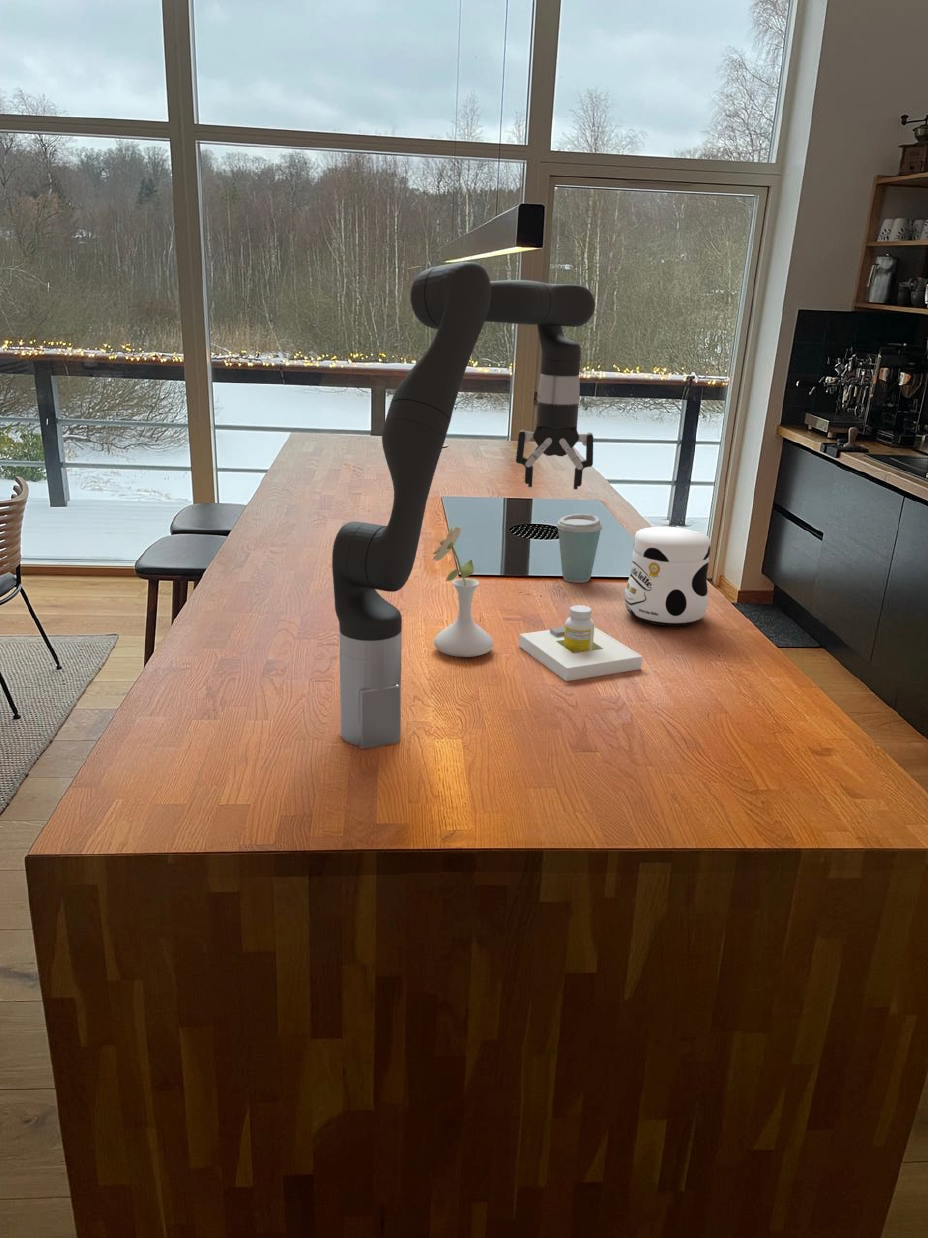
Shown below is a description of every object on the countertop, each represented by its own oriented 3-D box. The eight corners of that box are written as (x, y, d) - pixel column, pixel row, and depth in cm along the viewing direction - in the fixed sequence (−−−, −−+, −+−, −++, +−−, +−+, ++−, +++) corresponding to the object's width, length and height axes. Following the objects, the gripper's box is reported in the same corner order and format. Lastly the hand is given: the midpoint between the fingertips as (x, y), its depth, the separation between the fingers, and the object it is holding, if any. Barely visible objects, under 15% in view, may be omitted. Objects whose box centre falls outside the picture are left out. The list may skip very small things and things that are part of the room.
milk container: (606, 616, 201) (614, 534, 195) (651, 599, 213) (659, 521, 207) (678, 638, 190) (688, 552, 184) (720, 618, 202) (731, 537, 196)
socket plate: (641, 669, 175) (642, 652, 173) (565, 681, 168) (567, 664, 167) (589, 635, 190) (590, 620, 189) (518, 646, 183) (519, 630, 182)
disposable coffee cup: (576, 588, 219) (581, 525, 213) (543, 577, 226) (547, 516, 221) (607, 580, 225) (612, 519, 220) (573, 569, 233) (578, 510, 228)
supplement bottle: (573, 649, 183) (577, 601, 179) (597, 657, 179) (601, 608, 176) (557, 657, 179) (560, 608, 175) (581, 665, 175) (585, 615, 172)
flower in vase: (463, 636, 188) (468, 512, 179) (505, 652, 180) (512, 524, 172) (414, 652, 179) (416, 523, 170) (456, 670, 171) (460, 536, 163)
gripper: (596, 399, 176) (589, 485, 181) (520, 395, 177) (515, 481, 183) (598, 404, 169) (591, 493, 174) (518, 400, 170) (514, 489, 176)
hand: (552, 487), depth 179 cm, fingers open, 8 cm apart
